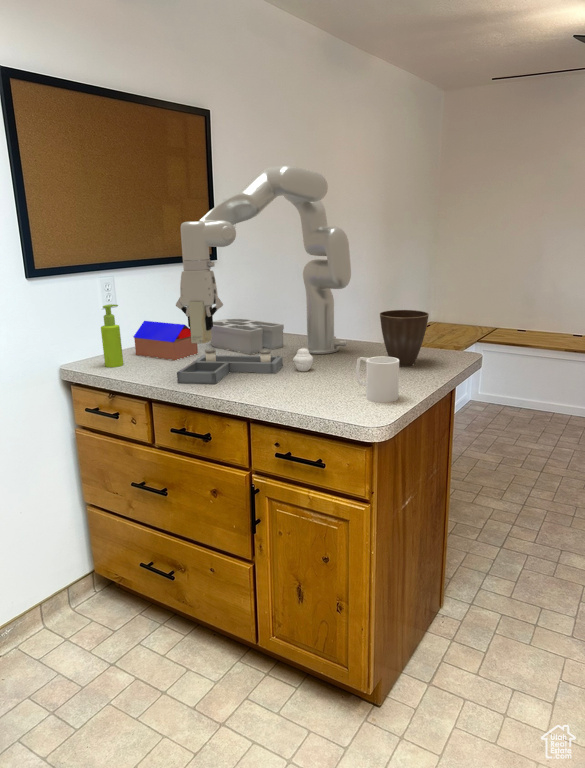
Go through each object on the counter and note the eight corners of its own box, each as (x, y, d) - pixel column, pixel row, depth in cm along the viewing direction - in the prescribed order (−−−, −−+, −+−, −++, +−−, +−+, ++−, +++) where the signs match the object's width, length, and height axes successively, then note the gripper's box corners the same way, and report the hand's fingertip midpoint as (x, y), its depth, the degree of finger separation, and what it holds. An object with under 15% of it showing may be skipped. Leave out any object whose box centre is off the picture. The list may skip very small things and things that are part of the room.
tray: (229, 372, 182) (229, 362, 181) (215, 384, 169) (214, 373, 168) (194, 371, 184) (193, 361, 183) (177, 383, 171) (176, 372, 170)
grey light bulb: (218, 366, 190) (217, 348, 188) (214, 369, 186) (213, 350, 185) (208, 366, 190) (206, 348, 189) (204, 369, 187) (203, 350, 185)
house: (159, 349, 220) (156, 318, 217) (199, 354, 209) (196, 321, 206) (134, 355, 210) (131, 323, 207) (175, 361, 200) (172, 327, 196)
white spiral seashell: (309, 373, 178) (309, 350, 177) (290, 371, 180) (290, 349, 179) (316, 368, 184) (315, 346, 182) (297, 367, 186) (297, 345, 184)
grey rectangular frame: (282, 365, 189) (282, 356, 188) (275, 373, 179) (275, 363, 178) (204, 363, 194) (203, 354, 193) (193, 371, 184) (192, 362, 184)
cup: (363, 389, 160) (363, 353, 157) (404, 396, 153) (404, 358, 150) (347, 397, 153) (347, 359, 151) (389, 404, 146) (389, 365, 144)
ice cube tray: (251, 355, 205) (250, 331, 203) (201, 345, 224) (200, 323, 222) (284, 347, 216) (284, 324, 214) (235, 338, 235) (233, 317, 233)
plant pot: (435, 362, 187) (437, 312, 183) (411, 371, 176) (412, 318, 172) (395, 356, 197) (396, 308, 192) (369, 364, 186) (370, 314, 182)
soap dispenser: (129, 363, 198) (123, 303, 193) (115, 367, 192) (108, 306, 187) (115, 361, 200) (109, 303, 195) (101, 366, 194) (94, 306, 189)
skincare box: (205, 344, 170) (202, 301, 167) (190, 343, 171) (188, 301, 168) (212, 340, 176) (210, 299, 173) (198, 339, 177) (195, 299, 174)
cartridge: (272, 367, 186) (271, 349, 184) (269, 370, 183) (269, 351, 181) (262, 367, 187) (261, 349, 185) (259, 370, 183) (258, 351, 182)
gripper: (228, 265, 170) (232, 327, 174) (174, 265, 173) (178, 327, 178) (220, 267, 163) (224, 332, 167) (163, 267, 166) (169, 331, 171)
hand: (200, 328), depth 173 cm, fingers closed on skincare box, 4 cm apart
